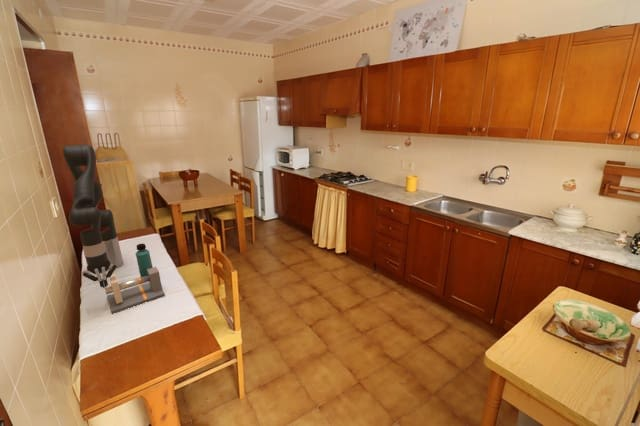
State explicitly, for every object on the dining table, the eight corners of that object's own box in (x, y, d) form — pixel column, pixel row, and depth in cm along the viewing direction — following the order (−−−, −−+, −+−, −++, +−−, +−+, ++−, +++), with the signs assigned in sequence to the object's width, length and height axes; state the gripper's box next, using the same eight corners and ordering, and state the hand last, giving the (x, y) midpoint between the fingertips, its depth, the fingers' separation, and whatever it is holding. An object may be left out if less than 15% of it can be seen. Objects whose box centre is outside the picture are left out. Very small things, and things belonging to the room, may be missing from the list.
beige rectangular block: (113, 294, 144) (108, 275, 141) (119, 292, 146) (115, 273, 142) (116, 303, 138) (111, 283, 134) (123, 301, 139) (118, 281, 136)
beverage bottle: (157, 276, 164) (151, 243, 158) (147, 282, 159) (140, 248, 152) (148, 274, 166) (141, 241, 160) (137, 280, 161) (130, 246, 154)
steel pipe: (105, 292, 139) (104, 286, 138) (151, 278, 151) (150, 273, 150) (106, 296, 137) (105, 290, 136) (153, 281, 148) (152, 275, 147)
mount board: (107, 298, 146) (101, 277, 142) (157, 282, 159) (153, 263, 155) (111, 314, 135) (105, 292, 131) (165, 296, 148) (161, 275, 144)
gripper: (112, 245, 138) (120, 278, 143) (75, 253, 130) (85, 288, 136) (114, 251, 132) (122, 285, 138) (76, 260, 124) (87, 296, 130)
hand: (104, 286), depth 137 cm, fingers closed
